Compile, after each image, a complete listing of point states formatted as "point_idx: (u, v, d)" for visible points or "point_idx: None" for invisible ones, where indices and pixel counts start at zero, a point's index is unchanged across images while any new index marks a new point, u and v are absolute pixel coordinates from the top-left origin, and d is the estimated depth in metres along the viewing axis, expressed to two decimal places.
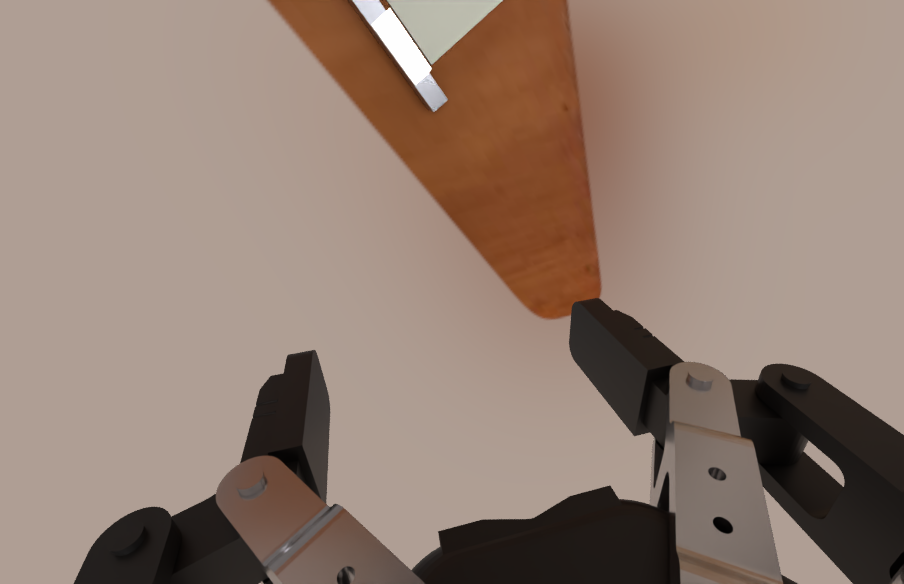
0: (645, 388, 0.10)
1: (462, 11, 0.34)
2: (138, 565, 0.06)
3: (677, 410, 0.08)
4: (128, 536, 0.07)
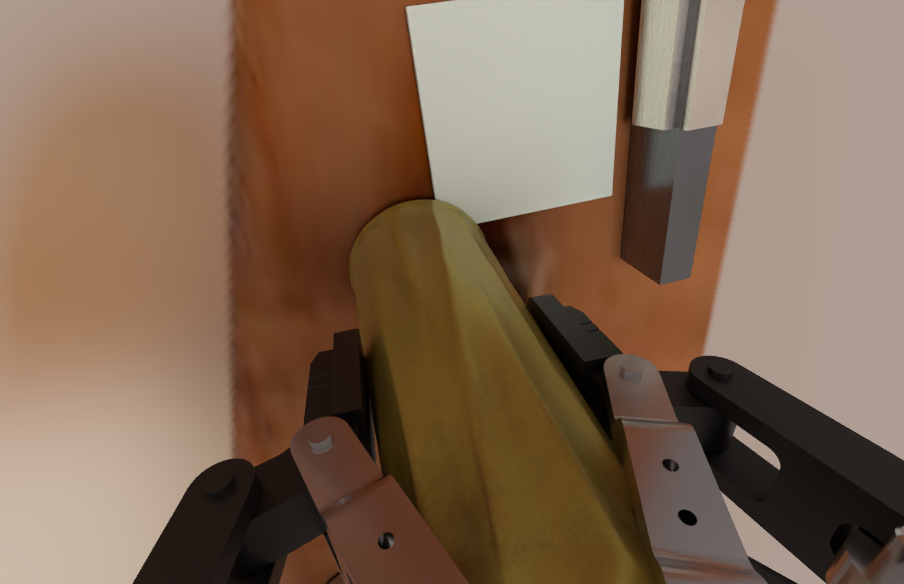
0: (584, 379, 0.10)
1: (509, 40, 0.15)
2: (231, 505, 0.07)
3: (618, 405, 0.09)
4: (219, 481, 0.08)
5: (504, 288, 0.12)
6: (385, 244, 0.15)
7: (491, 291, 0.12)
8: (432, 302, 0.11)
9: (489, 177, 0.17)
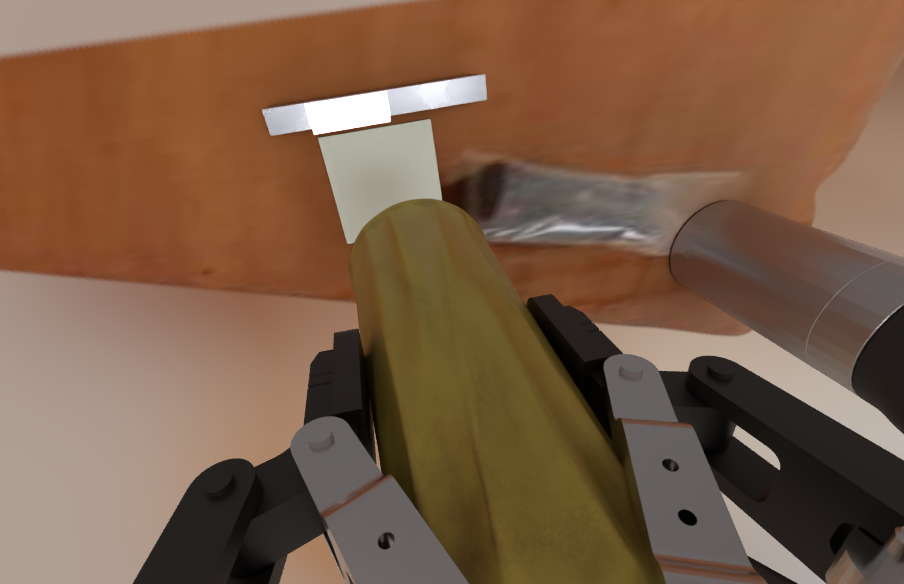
0: (584, 379, 0.10)
1: (353, 197, 0.31)
2: (232, 505, 0.07)
3: (618, 405, 0.09)
4: (219, 482, 0.08)
5: (504, 287, 0.12)
6: (385, 243, 0.15)
7: (490, 289, 0.12)
8: (432, 301, 0.11)
9: None
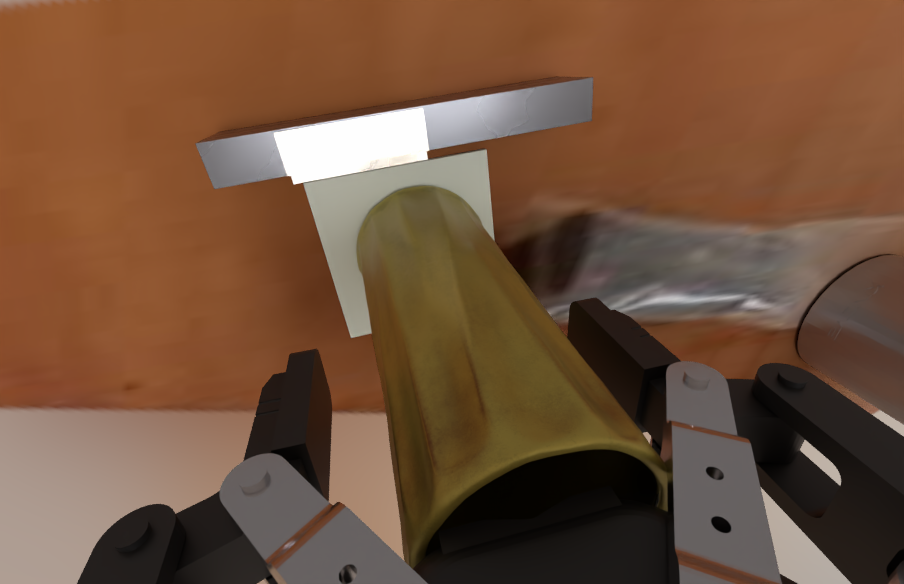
0: (642, 387, 0.10)
1: None
2: (143, 561, 0.07)
3: (674, 409, 0.08)
4: (133, 533, 0.07)
5: (498, 253, 0.14)
6: (391, 221, 0.16)
7: (485, 253, 0.13)
8: (433, 258, 0.13)
9: None
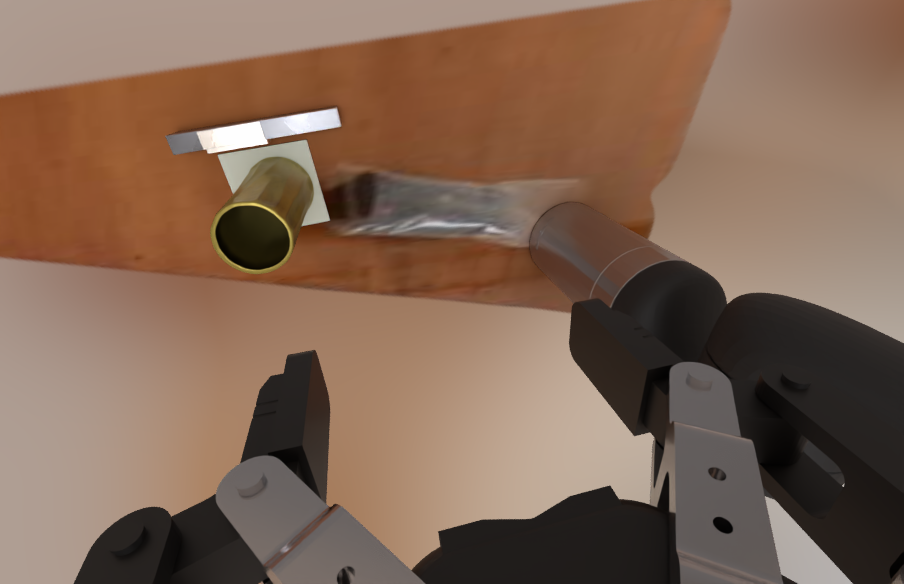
0: (645, 388, 0.10)
1: None
2: (138, 565, 0.06)
3: (677, 410, 0.08)
4: (128, 535, 0.07)
5: (286, 178, 0.34)
6: (254, 170, 0.37)
7: (278, 177, 0.34)
8: (254, 177, 0.33)
9: None
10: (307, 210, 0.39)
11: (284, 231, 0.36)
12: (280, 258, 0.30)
